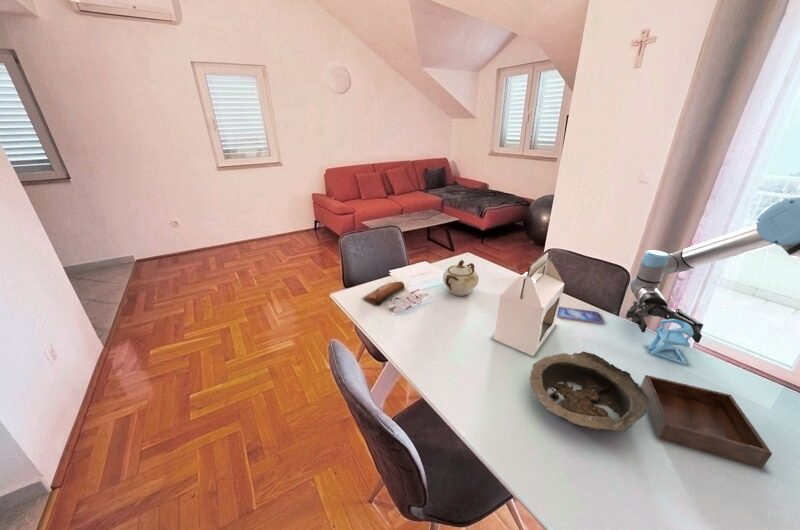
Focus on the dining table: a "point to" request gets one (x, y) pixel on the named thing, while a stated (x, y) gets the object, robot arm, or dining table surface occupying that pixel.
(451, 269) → the sugar bowl
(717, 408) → the wooden tray
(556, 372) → the stone bowl
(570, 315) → the smartphone
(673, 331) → the chair
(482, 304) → the dining table surface
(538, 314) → the gable box
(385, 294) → the sunglasses case
